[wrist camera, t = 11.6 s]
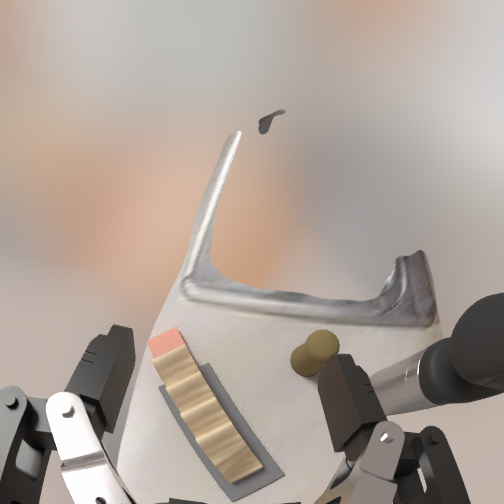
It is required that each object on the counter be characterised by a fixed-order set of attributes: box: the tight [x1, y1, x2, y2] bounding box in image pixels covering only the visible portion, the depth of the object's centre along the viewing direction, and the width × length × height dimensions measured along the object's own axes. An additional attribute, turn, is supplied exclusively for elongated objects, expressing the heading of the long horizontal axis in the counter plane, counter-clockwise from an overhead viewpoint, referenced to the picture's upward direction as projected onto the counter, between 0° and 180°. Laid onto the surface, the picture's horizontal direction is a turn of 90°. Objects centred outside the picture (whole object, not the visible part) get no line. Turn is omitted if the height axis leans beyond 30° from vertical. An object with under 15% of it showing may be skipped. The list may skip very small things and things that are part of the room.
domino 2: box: [152, 344, 214, 394], centre depth 39 cm, size 2×6×10 cm
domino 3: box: [166, 370, 231, 421], centre depth 37 cm, size 2×6×10 cm
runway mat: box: [158, 363, 284, 501], centre depth 37 cm, size 24×10×1 cm, turn 32°
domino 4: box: [180, 396, 246, 443], centre depth 35 cm, size 2×6×10 cm
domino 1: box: [147, 327, 202, 374], centre depth 43 cm, size 2×6×10 cm
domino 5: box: [195, 420, 263, 484], centre depth 33 cm, size 2×6×10 cm
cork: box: [290, 330, 340, 376], centre depth 41 cm, size 6×6×11 cm
